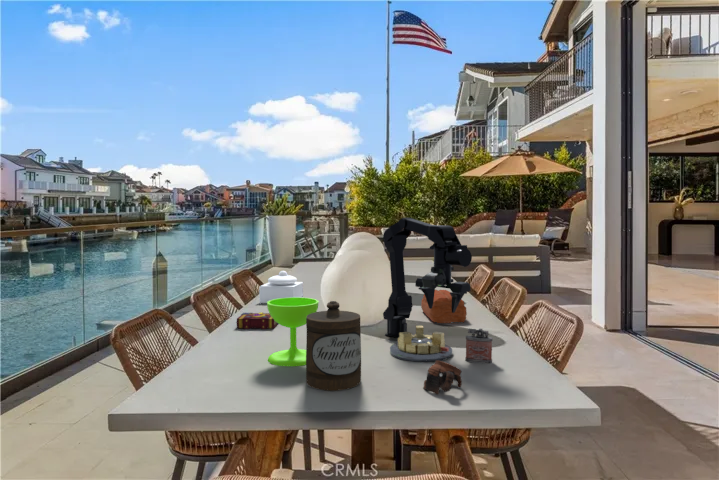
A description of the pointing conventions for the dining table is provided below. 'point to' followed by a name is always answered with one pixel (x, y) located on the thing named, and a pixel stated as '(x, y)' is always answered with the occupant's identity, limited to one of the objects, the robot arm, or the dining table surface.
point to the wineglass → (291, 326)
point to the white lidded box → (280, 288)
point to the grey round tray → (420, 357)
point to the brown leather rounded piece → (442, 377)
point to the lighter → (478, 347)
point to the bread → (444, 308)
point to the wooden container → (333, 349)
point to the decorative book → (256, 321)
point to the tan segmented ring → (421, 348)
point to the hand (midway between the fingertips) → (441, 310)
